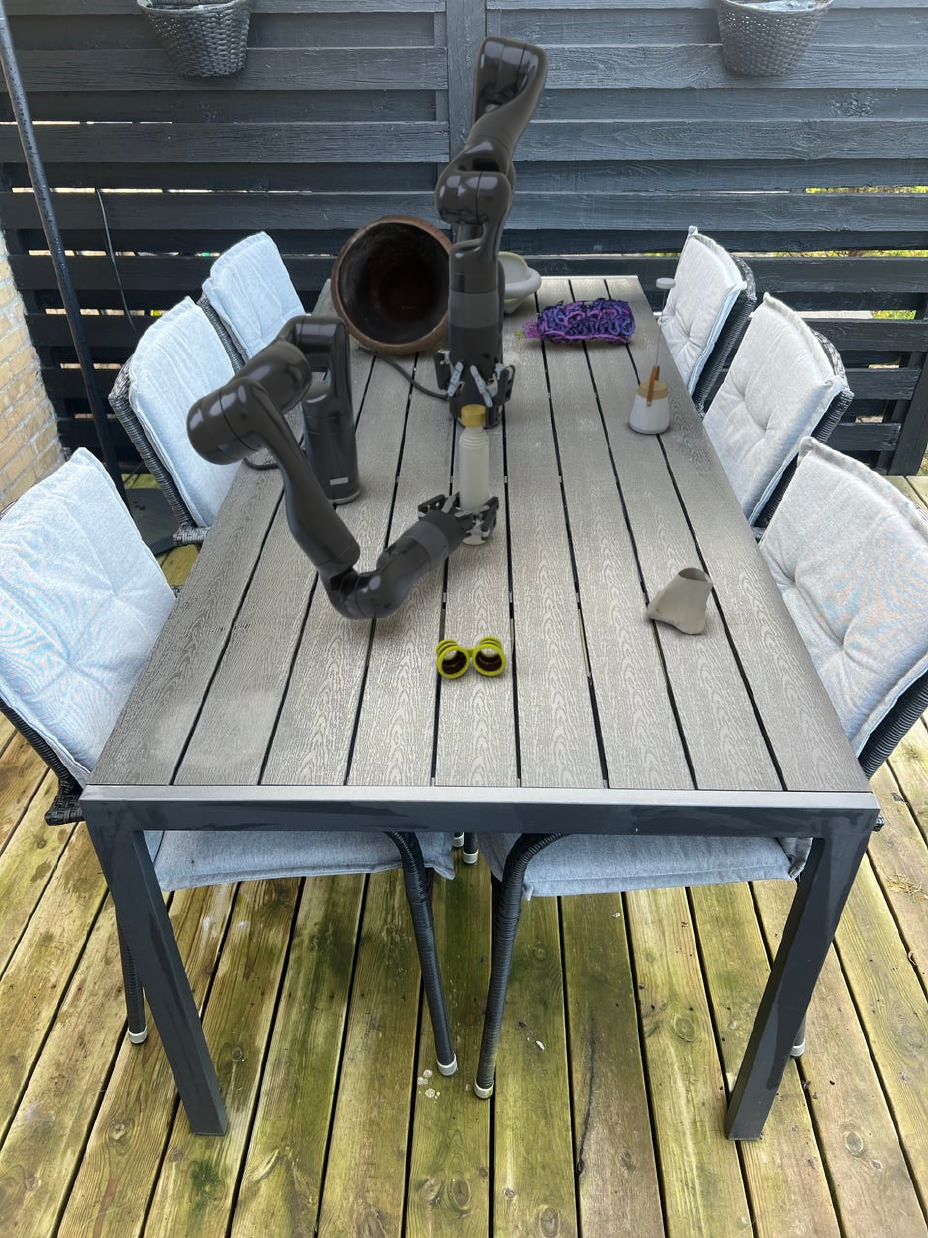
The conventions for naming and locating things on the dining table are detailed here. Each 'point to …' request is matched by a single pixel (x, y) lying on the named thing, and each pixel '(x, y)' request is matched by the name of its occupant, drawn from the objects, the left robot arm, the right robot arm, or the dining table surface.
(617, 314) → the decorative ornament
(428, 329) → the pot
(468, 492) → the bottle
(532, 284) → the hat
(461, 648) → the opera glasses
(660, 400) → the pendant light
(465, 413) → the cap
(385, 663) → the dining table surface
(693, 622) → the grey flared hollow piece
